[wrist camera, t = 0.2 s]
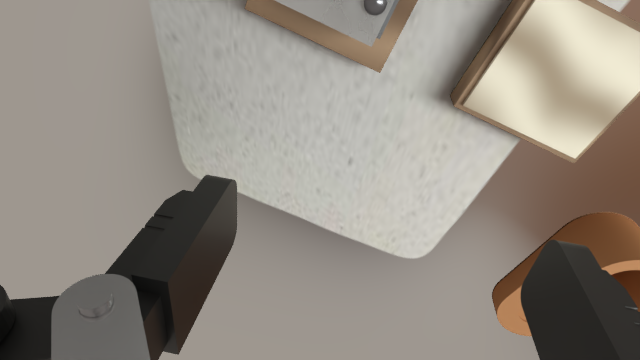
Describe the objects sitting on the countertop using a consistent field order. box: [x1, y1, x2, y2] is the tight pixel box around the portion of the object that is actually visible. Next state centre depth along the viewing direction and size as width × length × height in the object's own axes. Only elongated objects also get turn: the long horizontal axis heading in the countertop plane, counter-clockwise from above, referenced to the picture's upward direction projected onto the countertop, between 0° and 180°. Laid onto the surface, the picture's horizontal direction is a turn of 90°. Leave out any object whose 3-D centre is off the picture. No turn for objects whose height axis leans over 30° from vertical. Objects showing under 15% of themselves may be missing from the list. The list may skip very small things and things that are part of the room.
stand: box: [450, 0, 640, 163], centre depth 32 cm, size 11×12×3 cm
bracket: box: [492, 212, 640, 336], centre depth 42 cm, size 18×8×7 cm, turn 154°
